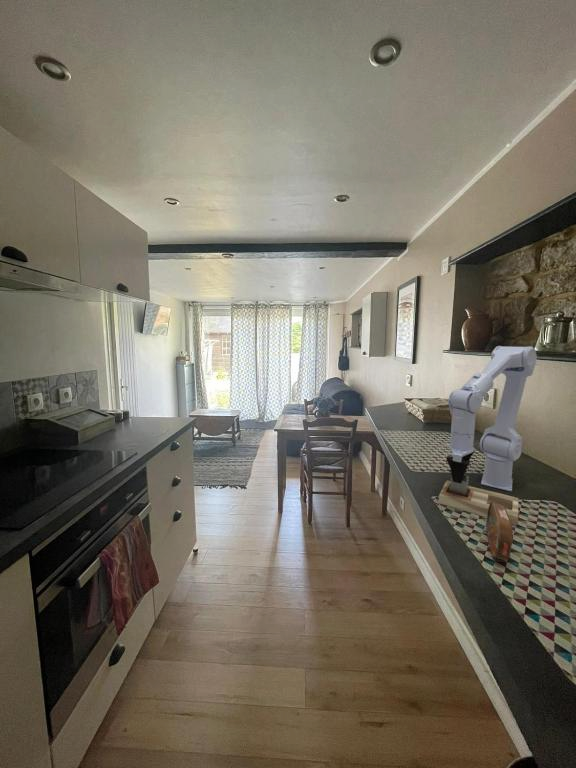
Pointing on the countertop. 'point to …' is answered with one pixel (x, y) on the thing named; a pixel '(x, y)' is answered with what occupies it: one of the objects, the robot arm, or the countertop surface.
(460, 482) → the robot arm
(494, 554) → the tin
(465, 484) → the grey rectangular block
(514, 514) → the rail plate
